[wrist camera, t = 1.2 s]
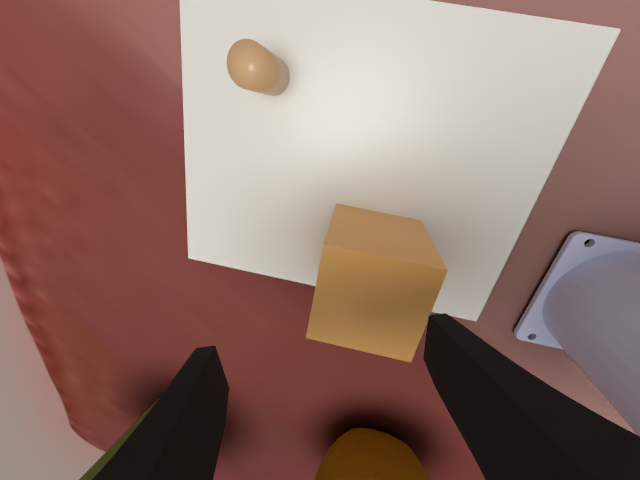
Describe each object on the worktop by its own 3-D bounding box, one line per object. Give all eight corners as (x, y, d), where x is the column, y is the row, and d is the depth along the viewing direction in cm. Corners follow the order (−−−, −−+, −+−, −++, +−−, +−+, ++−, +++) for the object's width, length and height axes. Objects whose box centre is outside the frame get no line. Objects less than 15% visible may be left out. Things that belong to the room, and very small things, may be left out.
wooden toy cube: (420, 220, 17) (448, 270, 11) (397, 290, 19) (411, 362, 13) (336, 203, 17) (323, 244, 11) (322, 274, 19) (305, 338, 14)
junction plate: (603, 35, 13) (712, -3, 9) (471, 312, 20) (499, 363, 16) (190, -28, 14) (120, -86, 10) (195, 251, 21) (155, 284, 17)
